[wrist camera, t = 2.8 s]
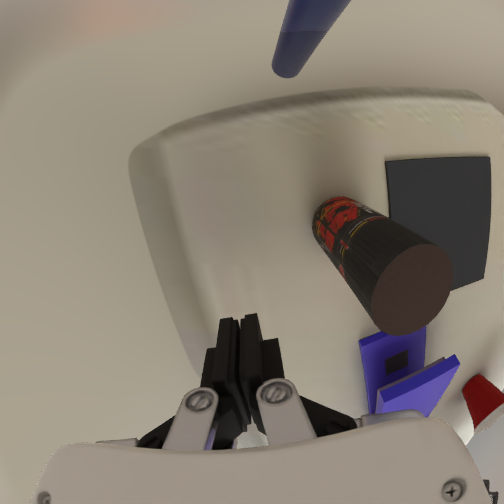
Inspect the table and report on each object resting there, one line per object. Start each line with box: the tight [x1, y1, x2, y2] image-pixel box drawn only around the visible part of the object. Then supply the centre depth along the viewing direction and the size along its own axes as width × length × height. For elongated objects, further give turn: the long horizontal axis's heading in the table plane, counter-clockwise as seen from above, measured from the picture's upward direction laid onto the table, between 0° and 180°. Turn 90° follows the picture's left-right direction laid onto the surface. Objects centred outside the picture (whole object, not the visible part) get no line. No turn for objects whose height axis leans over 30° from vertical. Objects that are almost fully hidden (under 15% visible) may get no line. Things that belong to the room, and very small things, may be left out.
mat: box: [385, 157, 491, 291], centre depth 28 cm, size 18×18×1 cm
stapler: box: [359, 326, 460, 417], centre depth 32 cm, size 12×28×10 cm, turn 21°
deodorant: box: [312, 197, 453, 336], centre depth 21 cm, size 6×6×15 cm
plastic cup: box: [462, 374, 504, 434], centre depth 34 cm, size 11×11×12 cm
